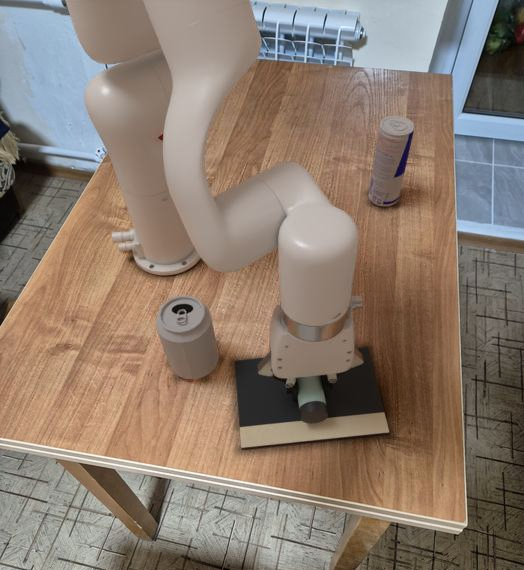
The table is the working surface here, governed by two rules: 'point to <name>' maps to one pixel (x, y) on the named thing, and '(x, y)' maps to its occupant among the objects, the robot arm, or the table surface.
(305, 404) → the vial
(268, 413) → the book
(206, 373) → the can
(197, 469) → the table surface
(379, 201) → the beverage can
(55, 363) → the table surface
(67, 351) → the table surface
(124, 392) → the table surface
